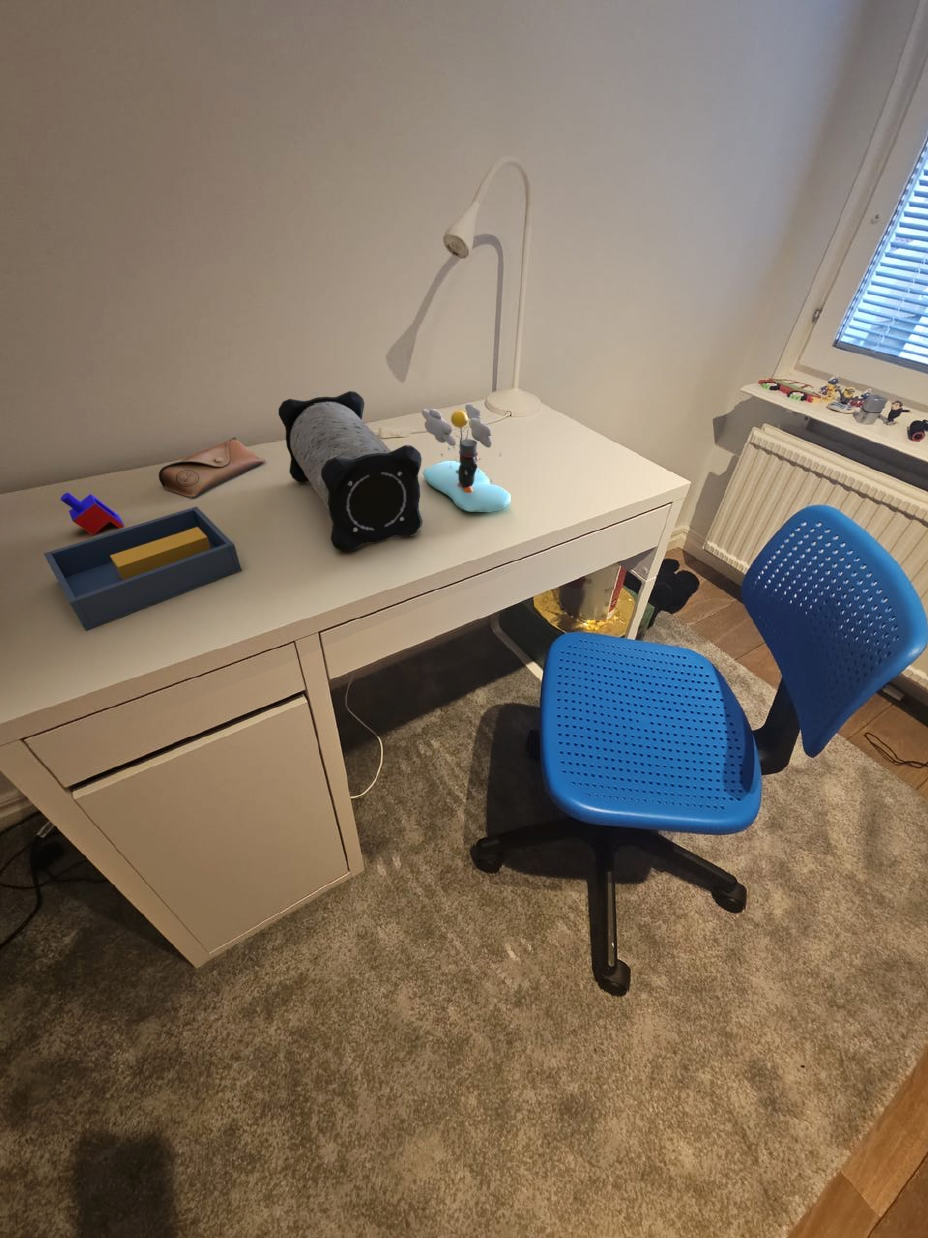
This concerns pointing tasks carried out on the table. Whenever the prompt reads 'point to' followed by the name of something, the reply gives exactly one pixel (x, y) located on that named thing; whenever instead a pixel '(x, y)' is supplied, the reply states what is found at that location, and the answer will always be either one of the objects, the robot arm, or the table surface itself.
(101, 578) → the bin
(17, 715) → the table surface
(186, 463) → the sunglasses case
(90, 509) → the toy building block
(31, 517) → the table surface
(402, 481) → the speaker
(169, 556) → the wooden stick
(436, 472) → the penguin figurine
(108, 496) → the table surface
